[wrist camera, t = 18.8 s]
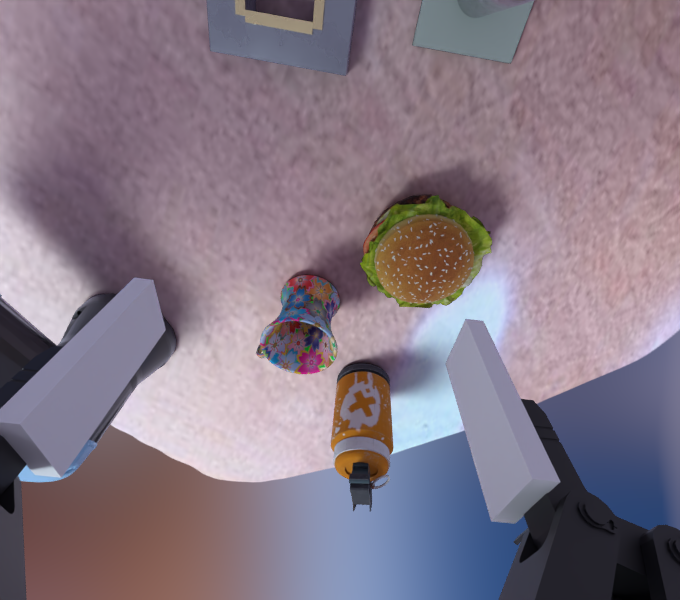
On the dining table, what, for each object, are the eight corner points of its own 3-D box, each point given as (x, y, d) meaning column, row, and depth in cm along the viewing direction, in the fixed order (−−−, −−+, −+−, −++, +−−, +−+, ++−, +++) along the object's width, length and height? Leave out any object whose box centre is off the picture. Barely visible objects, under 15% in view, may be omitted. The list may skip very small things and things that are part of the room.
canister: (388, 359, 55) (396, 486, 39) (389, 401, 61) (396, 524, 45) (335, 360, 56) (321, 484, 40) (341, 401, 62) (331, 522, 46)
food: (421, 304, 47) (429, 343, 41) (343, 248, 43) (339, 282, 37) (503, 235, 40) (528, 270, 34) (420, 161, 36) (431, 184, 30)
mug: (320, 258, 44) (308, 307, 36) (354, 306, 49) (351, 360, 40) (252, 293, 48) (227, 344, 40) (289, 334, 53) (274, 388, 44)
